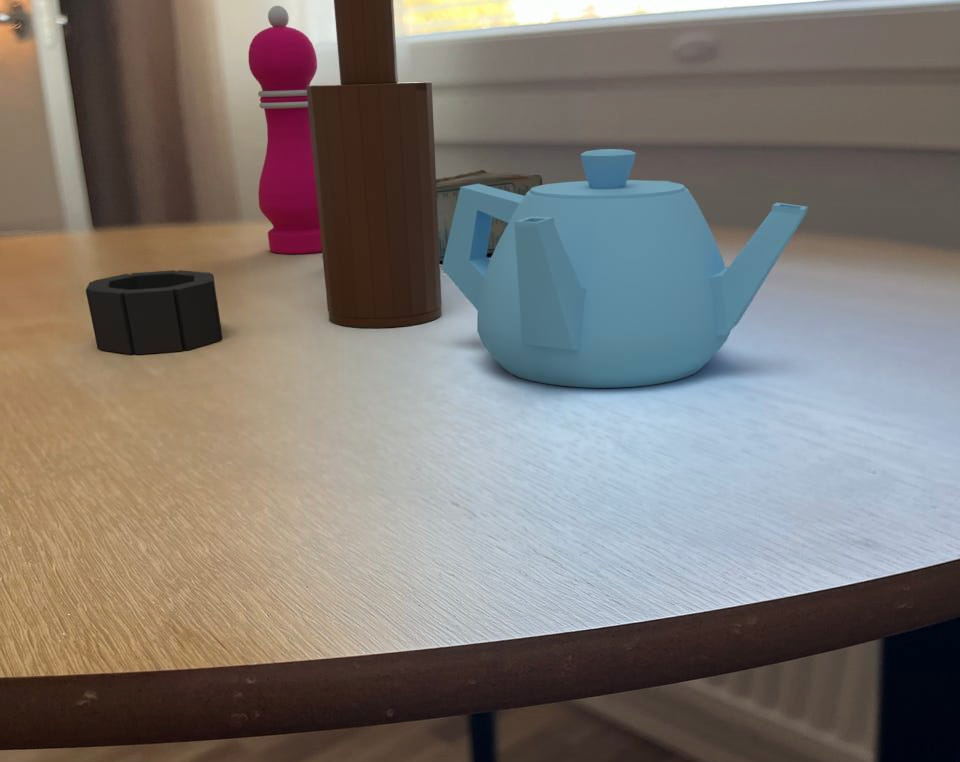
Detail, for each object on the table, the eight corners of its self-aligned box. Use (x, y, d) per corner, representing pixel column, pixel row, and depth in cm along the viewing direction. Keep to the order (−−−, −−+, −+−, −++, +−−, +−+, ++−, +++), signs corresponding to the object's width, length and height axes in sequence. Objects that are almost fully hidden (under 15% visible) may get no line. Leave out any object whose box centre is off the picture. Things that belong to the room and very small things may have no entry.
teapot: (666, 322, 66) (676, 136, 61) (798, 377, 54) (825, 149, 48) (438, 345, 62) (429, 149, 57) (523, 410, 50) (521, 166, 44)
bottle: (305, 321, 69) (270, -11, 60) (374, 301, 75) (351, -5, 66) (398, 332, 66) (376, -20, 56) (462, 310, 71) (451, -13, 62)
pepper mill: (305, 257, 94) (279, 1, 85) (248, 252, 98) (217, 6, 88) (355, 246, 99) (336, 4, 90) (299, 241, 103) (275, 9, 93)
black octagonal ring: (73, 346, 65) (60, 287, 63) (163, 322, 70) (154, 267, 68) (158, 359, 61) (147, 296, 59) (246, 333, 67) (238, 275, 65)
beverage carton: (322, 263, 91) (314, 182, 88) (498, 241, 100) (497, 167, 97) (366, 274, 85) (359, 187, 82) (548, 249, 94) (549, 171, 91)
